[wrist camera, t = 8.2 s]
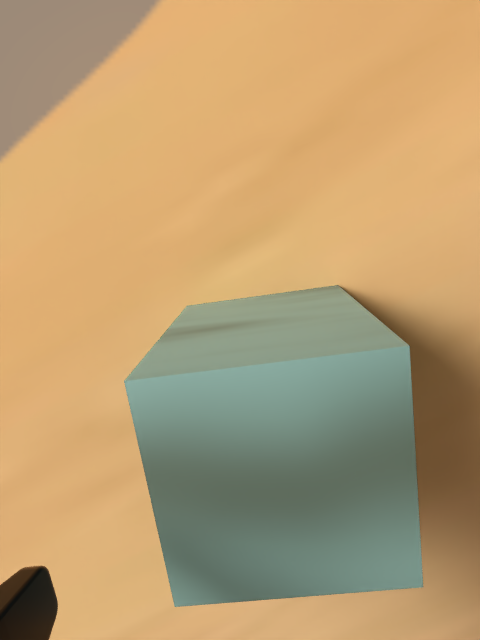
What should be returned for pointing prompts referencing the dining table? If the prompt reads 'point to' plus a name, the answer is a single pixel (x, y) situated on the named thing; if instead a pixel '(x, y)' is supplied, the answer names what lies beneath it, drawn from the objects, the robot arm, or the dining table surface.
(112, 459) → the dining table surface
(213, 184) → the dining table surface
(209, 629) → the dining table surface
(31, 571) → the robot arm
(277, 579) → the pale teal cube
